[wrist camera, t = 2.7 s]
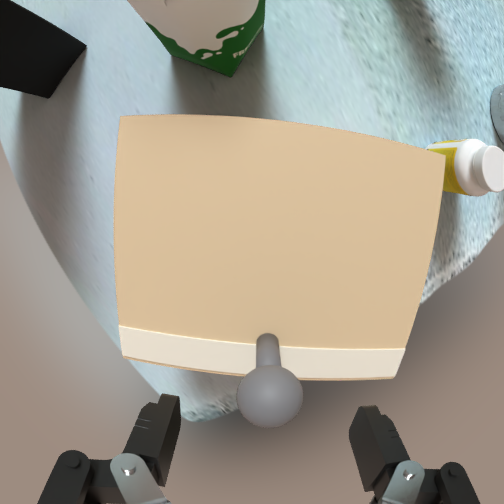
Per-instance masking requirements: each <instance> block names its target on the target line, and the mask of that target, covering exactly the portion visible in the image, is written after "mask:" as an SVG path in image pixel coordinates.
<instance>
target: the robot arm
mask: <svg viewBox="0 0 504 504" xmlns="http://www.w3.org/2000/svg"><path fill="white" fill-rule="evenodd" d="M490 107H491V115H492V119H493V123H494V126H495V129H496V131H497V133H498V135H499V137H500V139H501V140H502V142H503V143H504V85H500V86H498V87H496V88H495V89H494V90H493V93H492V95H491V105H490ZM180 425H181V413H180V399H179V396H174V395H169V394H161V397H160V399H159V402H158V404H156V403H151V402H149V403H148V404H147V405H146V406H144V407H143V408H142V409H141V412H140V414H139V416H138V419H137V421H136V423H135V426H134V427H133V430H132V432H131V434H130V437H129V439H128V441H127V444H126V446H125V449H124V451H123V453H121V454H120V455H117V456H116V457H114V458H113V459H111V460H93V459H92V460H91V459H88V457H87V456H86V455H85V454H84V453H82V452H80V451H76V450H69V451H66V452H64V453H62V454H61V455H60V456H59V458H58V460H57V462H56V464H55V466H54V468H53V470H52V472H51V474H50V477H49V479H48V481H47V483H46V485H45V488H44V490H43V492H42V494H41V496H40V499H39V501H38V503H37V504H106V503H111V504H171V503H170V501H168V500H167V499H166V498H165V496H164V495H163V493H162V491H161V490H160V488H159V486H163V487H165V484H166V481H167V477H168V473H169V469H170V465H171V461H172V458H173V454H174V450H175V446H176V442H177V439H178V435H179V431H180ZM349 440H350V443H351V447H352V450H353V453H354V456H355V459H356V463H357V466H358V470H359V473H360V477H361V480H362V484H363V487H364V491H365V492H368V491H374V494H375V495H374V496H373V498H372V500H371V502H370V503H369V504H480V502H479V500H478V498H477V495H476V493H475V491H474V488H473V486H472V484H471V482H470V480H469V478H468V476H467V474H466V471H465V469H464V468H463V467H462V466H461V465H460V464H458V463H456V462H449V463H446V464H444V465H443V466H442V468H441V469H423V467H422V466H421V465H420V464H419V463H417V462H415V461H411V460H410V458H409V456H408V454H407V451H406V449H405V447H404V445H403V443H402V440H401V438H400V437H399V434H398V432H397V431H396V428H395V426H394V423H393V422H392V421H391V420H390V419H389V418H388V417H387V416H386V415H381V414H380V411H379V409H378V407H377V406H376V405H371V406H361V407H359V408H358V411H357V413H356V415H355V417H354V420H353V422H352V424H351V426H350V429H349ZM158 485H159V486H158Z"/></svg>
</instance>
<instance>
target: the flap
mask: <svg viewBox="0 0 504 504" xmlns="http://www.w3.org/2000/svg"><path fill="white" fill-rule="evenodd" d="M445 159H446V155H442V154H439V153H436V152H433V151H429V150H426V149H422V148H419V147H415V146H412V145H408V144H404V143H400V142H396V141H392V140H388V139H384V138H379V137H375V136H370V135H366V134H361V133H356V132H351V131H346V130H340V129H335V128H329V127H323V126H317V125H310V124H303V123H296V122H288V121H280V120H270V119H260V118H249V117H235V116H218V115H182V114H167V115H132V116H120V124H119V133H118V143H117V154H116V168H115V187H114V263H115V282H116V296H117V308H118V318H119V334H120V342H121V349H122V355H123V357H124V358H126V359H131V360H135V361H140V362H145V363H151V364H156V365H162V366H167V367H173V368H180V369H186V370H193V371H200V372H208V373H216V374H225V375H234V376H245V377H244V378H243V379H242V381H241V382H240V384H239V387H238V390H237V404H238V407H239V410H240V412H241V413H242V415H243V416H244V417H245V418H246V419H247V420H248V421H249V422H251V423H252V424H254V425H256V426H259V427H263V428H276V427H280V426H283V425H285V424H287V423H288V422H290V421H291V420H293V419H294V418H295V416H296V415H297V414H298V412H299V411H300V409H301V406H302V404H303V389H302V386H301V383H300V381H299V380H374V379H392V378H394V376H395V375H396V373H397V370H398V368H399V365H400V362H401V360H402V357H403V354H404V352H405V346H406V344H407V341H408V338H409V335H410V332H411V329H412V325H413V322H414V319H415V316H416V313H417V310H418V306H419V303H420V299H421V296H422V292H423V288H424V285H425V281H426V277H427V273H428V268H429V264H430V260H431V255H432V250H433V246H434V241H435V235H436V230H437V224H438V218H439V212H440V205H441V198H442V190H443V181H444V171H445Z"/></svg>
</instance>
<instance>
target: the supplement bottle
mask: <svg viewBox="0 0 504 504" xmlns="http://www.w3.org/2000/svg"><path fill="white" fill-rule="evenodd" d="M425 149H426V150H429V151H433V152H436V153H439V154H442V155H446V159H445V171H444V181H443V190H442V191H446V192H452V193H459V194H464V195H469V196H482V195H485V194H486V193H488V192H489V191H490V192H500V191H502V190H503V189H504V152H503V151H502V150H501V149H500V148H499V147H497V146H487V145H486V144H484V143H483V142H482V141H480V140H477V139H462V140H450V141H440V142H434V143H431V144H430V145H428V146H427V147H426V148H425Z"/></svg>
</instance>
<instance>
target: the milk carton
mask: <svg viewBox="0 0 504 504" xmlns="http://www.w3.org/2000/svg"><path fill="white" fill-rule="evenodd" d="M127 1H128V2H129V3H130V4H131V6H132V7H133V8H134V9H135V10H136V12H137V13H138V14H139V15H140V16H141V18H142V19H143V20H144V21H145V22H146V24H147V25H148V26H149V27H150V29H151V30H152V31H153V32H154V34H155V35H156V36H157V37H158V39H159V40H160V41H161V42H162V44H163V45H164V47H165V48H166V49H167V51H168V52H169V53H170V55H173V56H176V57H179V58H181V59H184V60H187V61H190V62H193V63H196V64H198V65H201V66H204V67H206V68H209V69H211V70H214V71H216V72H219V73H221V74H224V75H226V76H229V77H232V75H233V74H234V72H235V70H236V69H237V67H238V65H239V64H240V62H241V61H242V59H243V57H244V56H245V54H246V53H247V51H248V50H249V48H250V47H251V45H252V43H253V42H254V40H255V39H256V37H257V36H258V34H259V33H260V31H261V30H262V28H263V27H264V18H265V0H127Z"/></svg>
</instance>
